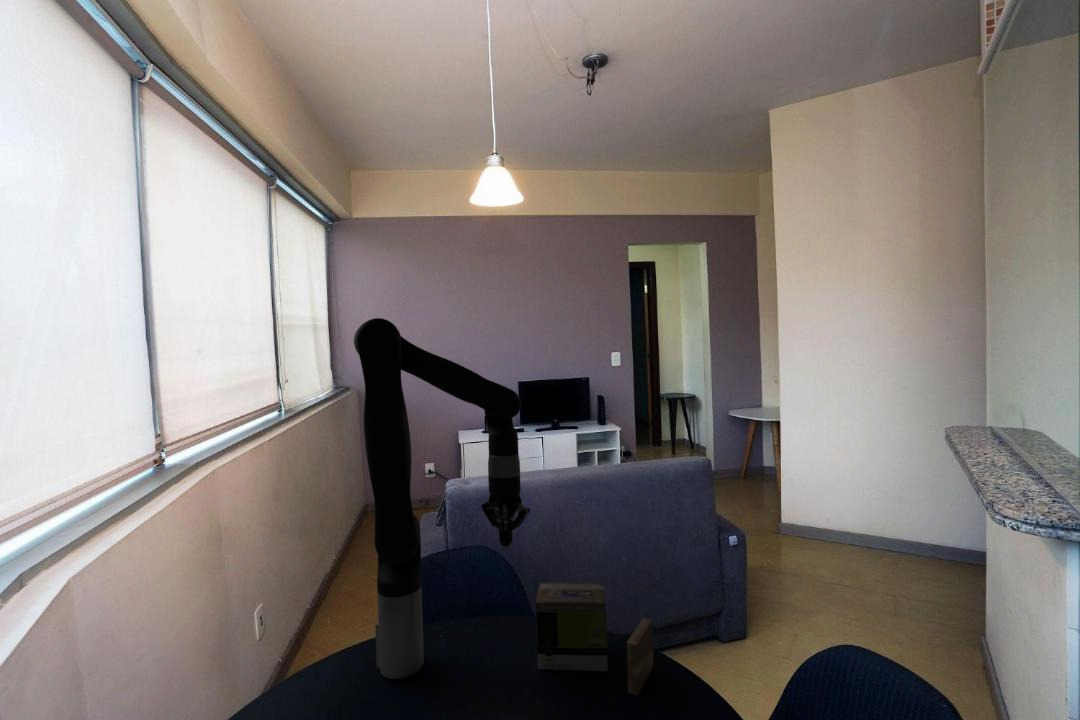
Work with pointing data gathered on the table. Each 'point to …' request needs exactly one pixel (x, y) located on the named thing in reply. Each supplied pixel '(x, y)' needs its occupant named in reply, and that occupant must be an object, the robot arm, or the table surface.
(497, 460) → the robot arm
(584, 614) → the tea box
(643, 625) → the birch board
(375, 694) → the table surface
